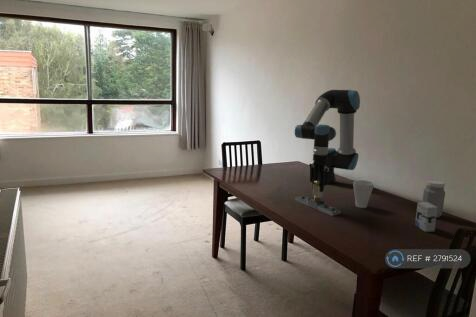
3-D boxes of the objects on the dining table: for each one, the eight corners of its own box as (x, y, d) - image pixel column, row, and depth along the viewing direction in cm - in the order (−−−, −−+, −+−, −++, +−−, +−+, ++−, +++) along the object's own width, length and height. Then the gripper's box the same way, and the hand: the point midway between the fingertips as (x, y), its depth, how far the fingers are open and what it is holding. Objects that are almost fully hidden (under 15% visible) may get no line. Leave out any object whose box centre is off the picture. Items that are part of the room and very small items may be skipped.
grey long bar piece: (294, 200, 206) (295, 194, 205) (303, 198, 209) (303, 192, 208) (331, 216, 182) (332, 209, 181) (340, 213, 185) (341, 207, 185)
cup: (361, 210, 191) (363, 186, 189) (347, 204, 200) (349, 181, 198) (375, 207, 196) (377, 184, 193) (360, 202, 205) (363, 179, 203)
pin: (317, 198, 198) (318, 179, 196) (323, 201, 194) (324, 181, 192) (310, 200, 195) (312, 180, 193) (316, 202, 191) (318, 182, 189)
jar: (417, 211, 192) (421, 179, 189) (435, 212, 192) (440, 179, 188) (426, 218, 183) (430, 184, 179) (445, 218, 182) (450, 184, 179)
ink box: (414, 224, 173) (417, 201, 170) (423, 224, 173) (427, 201, 171) (424, 231, 164) (428, 207, 162) (434, 231, 165) (438, 207, 163)
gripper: (304, 151, 194) (302, 193, 199) (326, 157, 181) (323, 201, 185) (314, 150, 198) (312, 191, 203) (337, 156, 185) (333, 199, 189)
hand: (317, 196), depth 194 cm, fingers closed on pin, 3 cm apart
